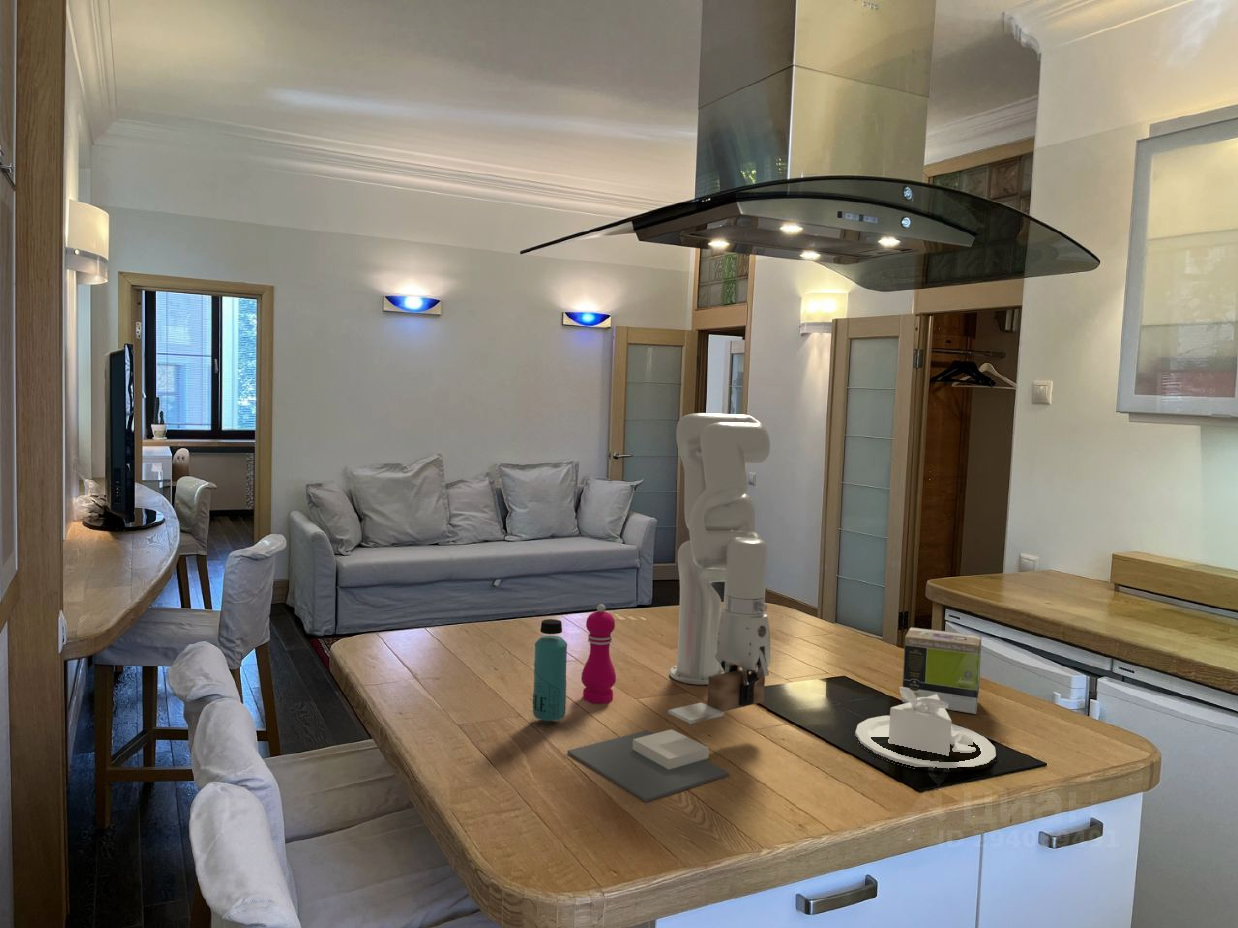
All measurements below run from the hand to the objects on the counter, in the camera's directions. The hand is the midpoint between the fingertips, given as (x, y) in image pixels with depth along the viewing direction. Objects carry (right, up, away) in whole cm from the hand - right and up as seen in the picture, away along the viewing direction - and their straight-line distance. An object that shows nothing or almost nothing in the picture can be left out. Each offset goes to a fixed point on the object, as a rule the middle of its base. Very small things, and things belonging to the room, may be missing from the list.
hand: (739, 700), depth 162 cm
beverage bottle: (-36, -6, +5) cm, 37 cm away
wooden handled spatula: (-5, -1, -4) cm, 6 cm away
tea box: (+47, -7, +25) cm, 53 cm away
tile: (-10, -6, -7) cm, 13 cm away
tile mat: (-18, -7, -13) cm, 23 cm away
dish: (+35, -9, +1) cm, 36 cm away
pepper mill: (-27, -5, +19) cm, 33 cm away
